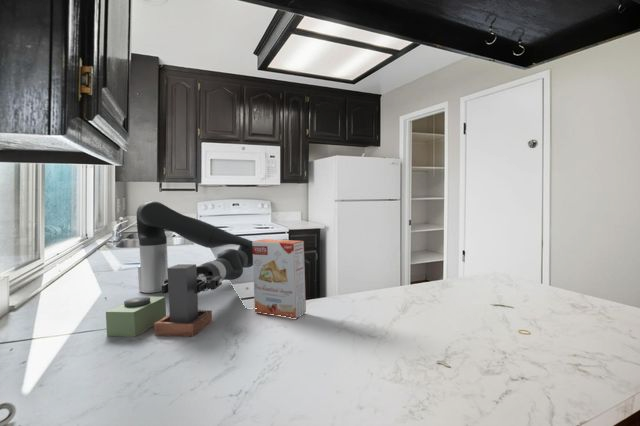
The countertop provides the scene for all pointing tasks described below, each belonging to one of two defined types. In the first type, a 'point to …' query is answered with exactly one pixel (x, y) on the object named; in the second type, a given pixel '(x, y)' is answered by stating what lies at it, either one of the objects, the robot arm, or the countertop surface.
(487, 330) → the countertop surface
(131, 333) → the green block with knob
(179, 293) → the block
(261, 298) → the cracker box
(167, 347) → the countertop surface
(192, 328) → the collar
